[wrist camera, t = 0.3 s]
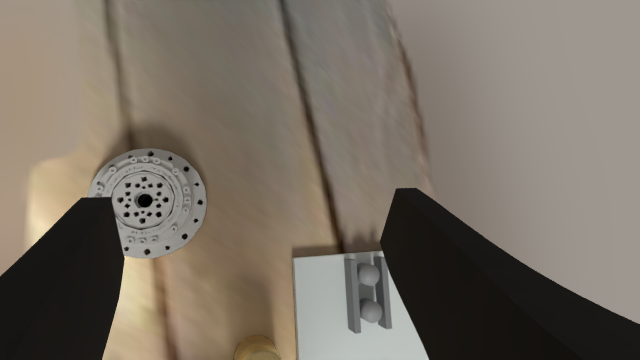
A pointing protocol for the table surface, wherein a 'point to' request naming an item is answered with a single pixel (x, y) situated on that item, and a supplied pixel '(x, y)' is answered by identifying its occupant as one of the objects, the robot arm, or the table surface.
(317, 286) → the chain base
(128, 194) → the mechanical component
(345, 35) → the table surface
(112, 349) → the table surface
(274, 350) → the pin
